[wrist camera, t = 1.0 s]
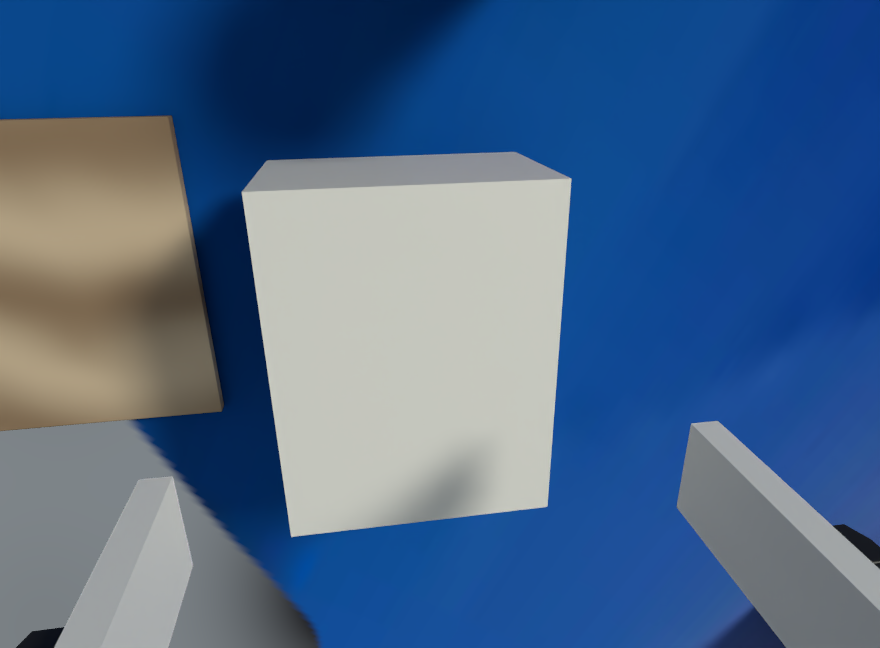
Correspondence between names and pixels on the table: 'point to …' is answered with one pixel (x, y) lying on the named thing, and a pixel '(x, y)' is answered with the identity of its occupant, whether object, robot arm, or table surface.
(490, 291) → the lid
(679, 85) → the table surface
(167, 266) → the trivet
